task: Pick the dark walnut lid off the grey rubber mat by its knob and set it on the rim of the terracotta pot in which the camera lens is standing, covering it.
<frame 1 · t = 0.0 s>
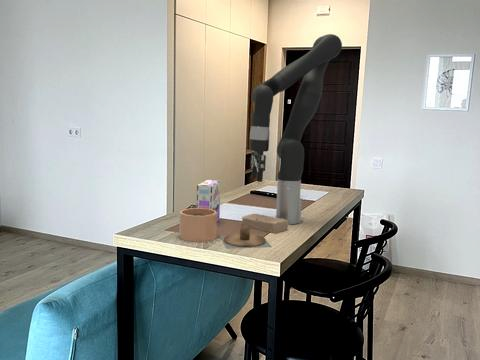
hand: (256, 179, 181), 17 cm above the table, tool pointing down, fingers open, 8 cm apart
camera lens: (198, 238, 161), resting in pot
mat: (244, 242, 157), on the table
brick: (263, 229, 176), on the table
lid: (244, 241, 157), resting on mat
candy box: (208, 224, 180), on the table
pot: (198, 237, 161), on the table
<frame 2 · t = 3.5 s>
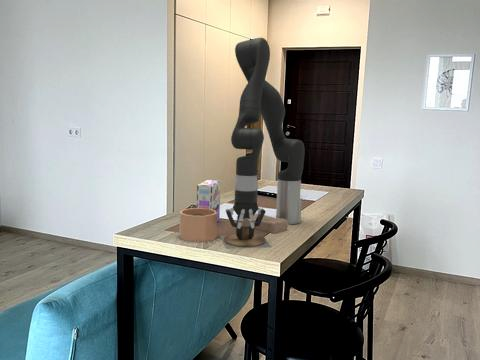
hand: (244, 238, 157), 1 cm above the table, tool pointing down, fingers closed on lid, 3 cm apart
lid: (244, 241, 157), resting on mat, touching gripper
everything else where it was.
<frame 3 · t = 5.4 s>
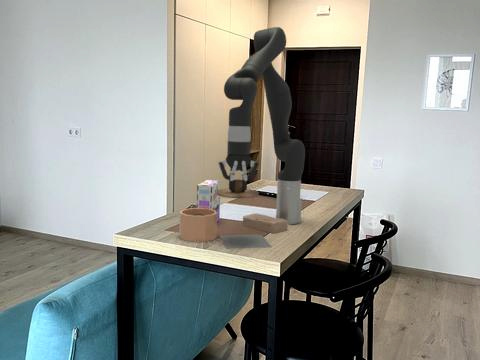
hand: (237, 191, 155), 17 cm above the table, tool pointing down, fingers closed on lid, 3 cm apart
lid: (237, 194, 155), point 16 cm above the table, touching gripper
everything else where it was.
when the fingers open (11 cm above the table, at t = 7.4 s): lid drops 1 cm, resting on pot.
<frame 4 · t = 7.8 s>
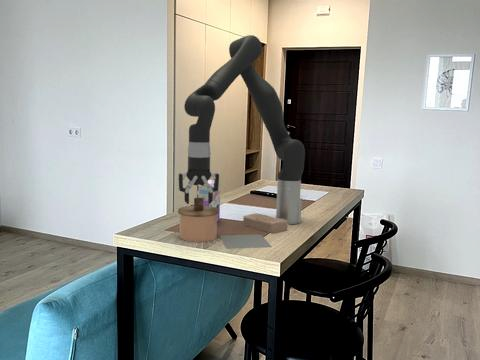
hand: (198, 203, 159), 12 cm above the table, tool pointing down, fingers open, 7 cm apart
lid: (198, 212, 160), point 9 cm above the table, touching pot
everything else where it was.
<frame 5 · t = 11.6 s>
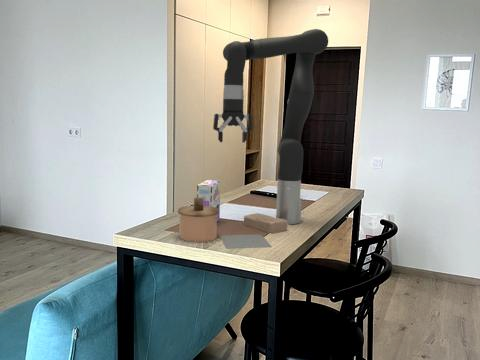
hand: (232, 142, 173), 32 cm above the table, tool pointing down, fingers open, 8 cm apart
nothing on the table moved.
at the end: lid 0.1 cm off-centre on the pot, point 9.0 cm above the pot's base; lid tilted 0°; the gripper is holding nothing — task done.
